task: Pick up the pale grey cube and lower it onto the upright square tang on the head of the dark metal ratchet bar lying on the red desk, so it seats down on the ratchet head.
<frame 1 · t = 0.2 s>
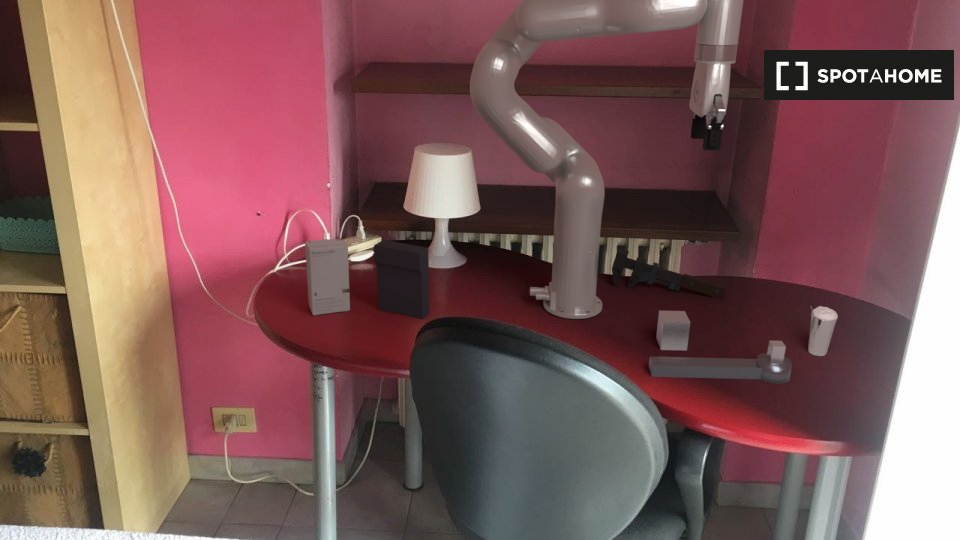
hand: (704, 144, 148), 36 cm above the table, tool pointing down, fingers open, 9 cm apart
milkshake: (814, 353, 146), on the table
pale grey cube: (671, 344, 148), on the table
black lidded box: (404, 312, 161), on the table
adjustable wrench: (666, 292, 172), on the table
skincare box: (330, 308, 162), on the table
ratchet: (738, 374, 138), on the table
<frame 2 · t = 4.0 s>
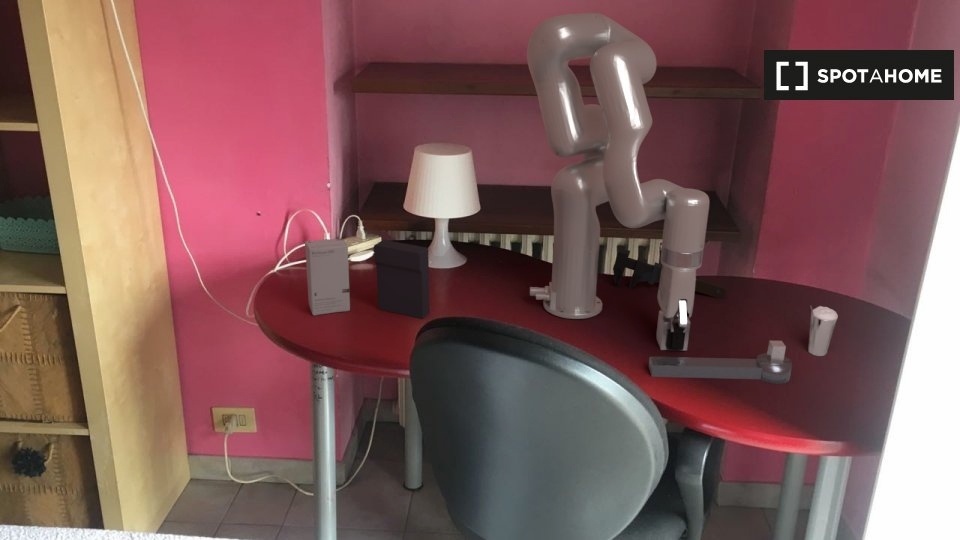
hand: (671, 341, 148), 1 cm above the table, tool pointing down, fingers closed on pale grey cube, 5 cm apart
pale grey cube: (671, 344, 148), on the table, touching gripper
everything else where it was.
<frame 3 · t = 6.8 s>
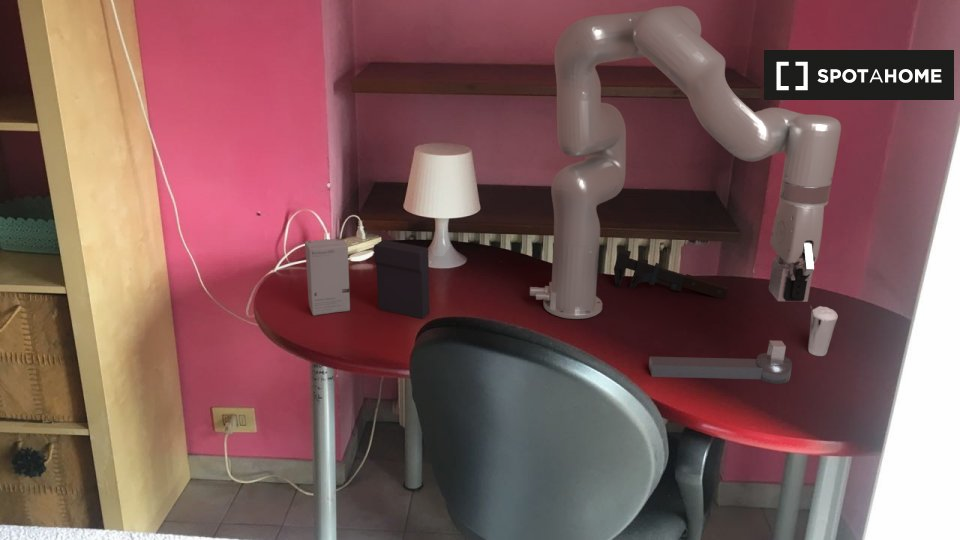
hand: (787, 292, 131), 16 cm above the table, tool pointing down, fingers closed on pale grey cube, 5 cm apart
pale grey cube: (787, 295, 131), point 16 cm above the table, touching gripper
everything else where it was.
when the fingers open (4 cm above the table, at t = 9.5 s): pale grey cube stays where it is, resting on ratchet.
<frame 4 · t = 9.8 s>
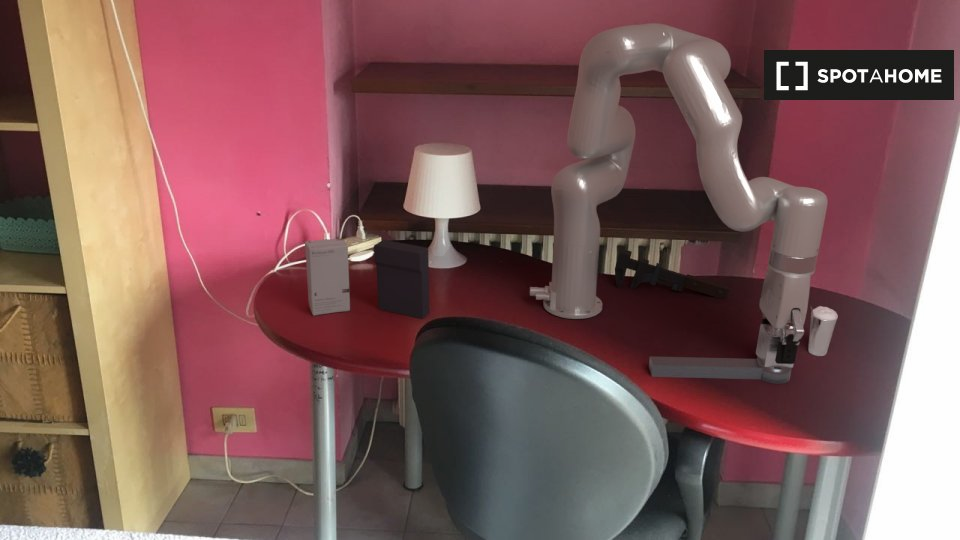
hand: (776, 350, 136), 5 cm above the table, tool pointing down, fingers open, 8 cm apart
pale grey cube: (774, 360, 137), point 3 cm above the table, touching ratchet
ratchet: (738, 374, 138), on the table, touching pale grey cube
everything else where it was.
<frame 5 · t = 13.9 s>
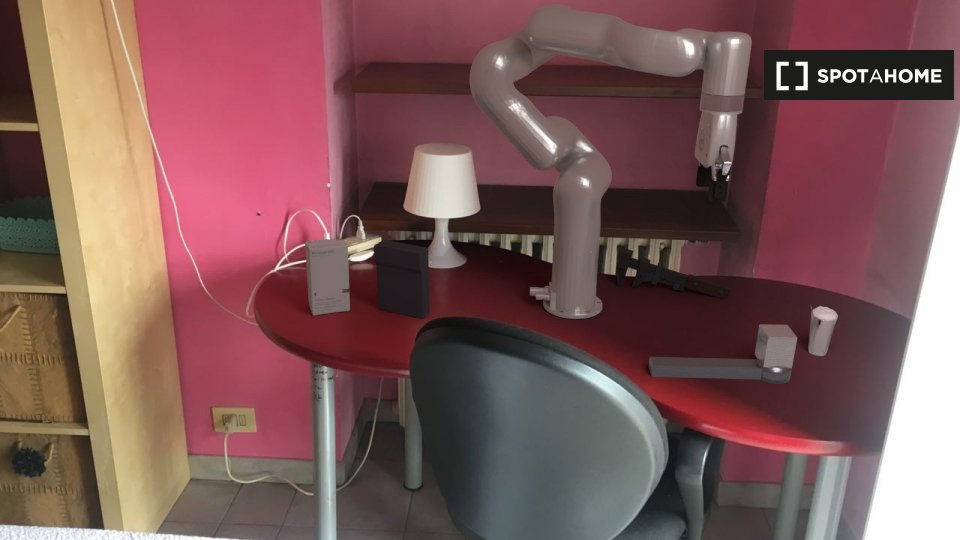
hand: (710, 193, 145), 28 cm above the table, tool pointing down, fingers open, 9 cm apart
pale grey cube: (773, 360, 136), point 3 cm above the table
ratchet: (738, 374, 138), on the table
everything else where it was.
at the end: pale grey cube 0.3 cm from the target spot on the ratchet, point 3.0 cm above the ratchet's base; pale grey cube tilted 1°; the gripper is holding nothing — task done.
